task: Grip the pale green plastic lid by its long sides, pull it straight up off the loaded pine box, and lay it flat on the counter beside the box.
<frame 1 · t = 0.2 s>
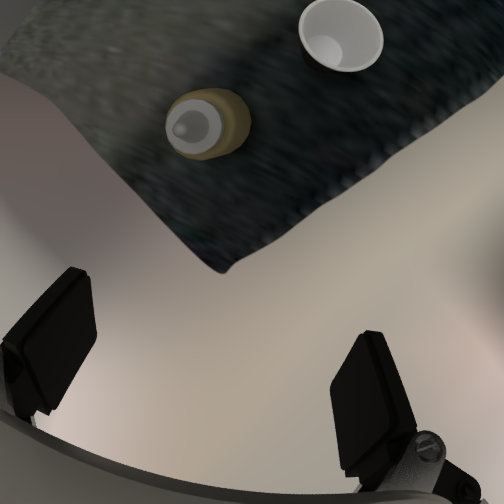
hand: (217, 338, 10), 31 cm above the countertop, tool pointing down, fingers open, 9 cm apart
squeeze bottle: (220, 120, 35), on the countertop
dixie cup: (322, 53, 31), on the countertop
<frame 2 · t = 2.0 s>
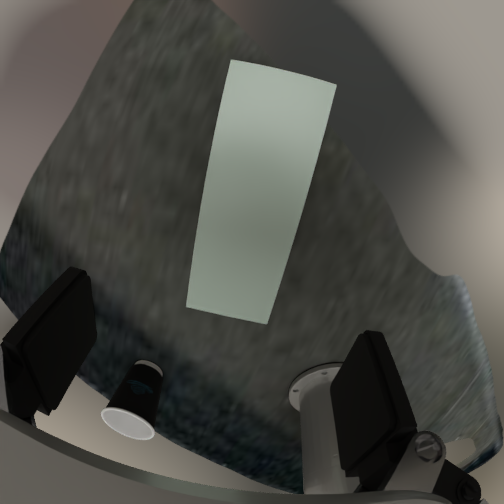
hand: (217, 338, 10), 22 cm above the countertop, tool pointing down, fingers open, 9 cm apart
lid: (253, 197, 24), point 6 cm above the countertop, touching box
dixie cup: (148, 369, 43), on the countertop
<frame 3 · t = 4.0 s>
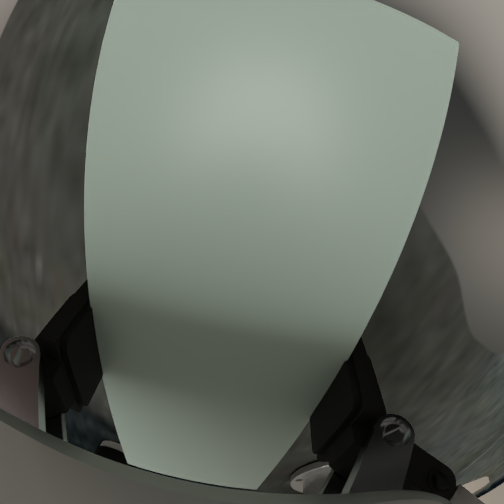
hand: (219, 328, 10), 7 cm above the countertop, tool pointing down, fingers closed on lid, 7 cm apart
lid: (220, 322, 10), point 7 cm above the countertop, touching box, gripper
dixie cup: (119, 448, 30), on the countertop
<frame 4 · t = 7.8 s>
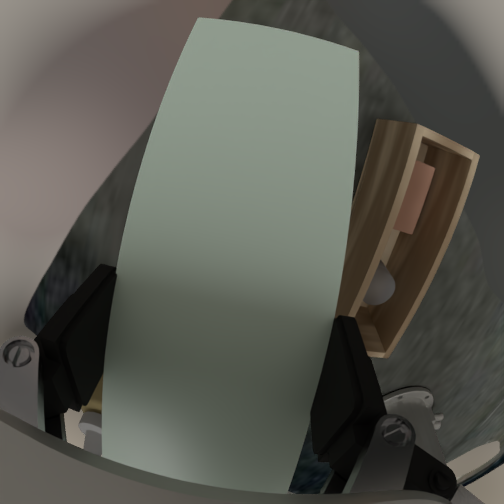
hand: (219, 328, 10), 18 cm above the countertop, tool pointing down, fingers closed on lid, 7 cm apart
squeeze bottle: (139, 344, 36), on the countertop
lid: (230, 263, 12), point 16 cm above the countertop, tilted 31°, touching gripper
box: (375, 222, 27), on the countertop
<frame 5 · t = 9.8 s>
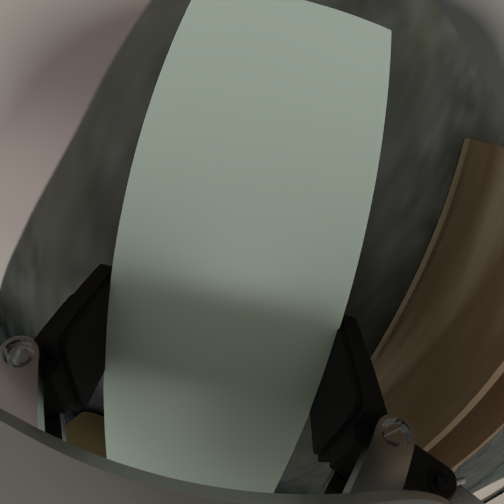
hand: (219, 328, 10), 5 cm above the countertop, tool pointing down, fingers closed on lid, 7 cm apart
squeeze bottle: (106, 425, 24), on the countertop
lid: (232, 266, 11), point 3 cm above the countertop, tilted 20°, touching gripper
box: (441, 304, 15), on the countertop
when the fingers open (2 cm above the countertop, at t = 11.5 s): lid drops 1 cm, on the countertop.
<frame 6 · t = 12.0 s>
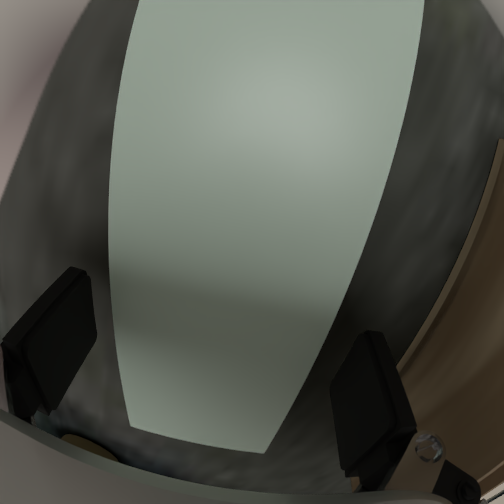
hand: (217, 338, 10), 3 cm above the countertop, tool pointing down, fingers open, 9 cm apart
squeeze bottle: (92, 447, 21), on the countertop
lid: (230, 253, 11), on the countertop
box: (460, 333, 12), on the countertop
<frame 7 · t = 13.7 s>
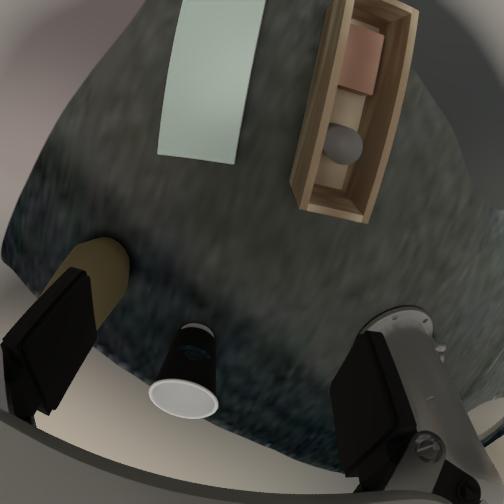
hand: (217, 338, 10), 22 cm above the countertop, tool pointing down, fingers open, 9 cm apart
squeeze bottle: (109, 256, 34), on the countertop
lid: (215, 56, 24), on the countertop
dixie cup: (197, 335, 40), on the countertop
box: (338, 99, 26), on the countertop
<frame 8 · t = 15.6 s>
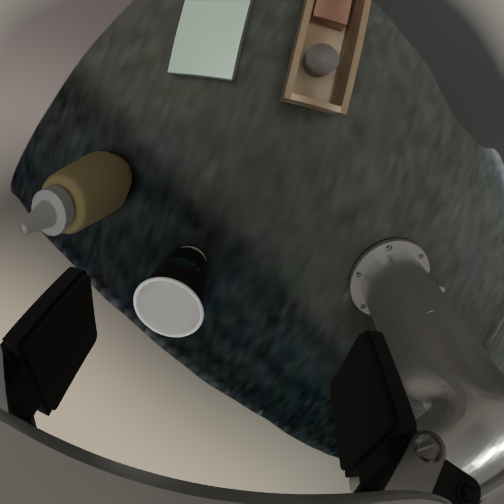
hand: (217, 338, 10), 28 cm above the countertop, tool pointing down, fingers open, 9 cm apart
squeeze bottle: (114, 175, 36), on the countertop
lid: (221, 3, 26), on the countertop
dixie cup: (190, 261, 41), on the countertop
box: (321, 36, 27), on the countertop
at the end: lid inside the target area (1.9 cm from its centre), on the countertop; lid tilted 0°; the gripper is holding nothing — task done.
